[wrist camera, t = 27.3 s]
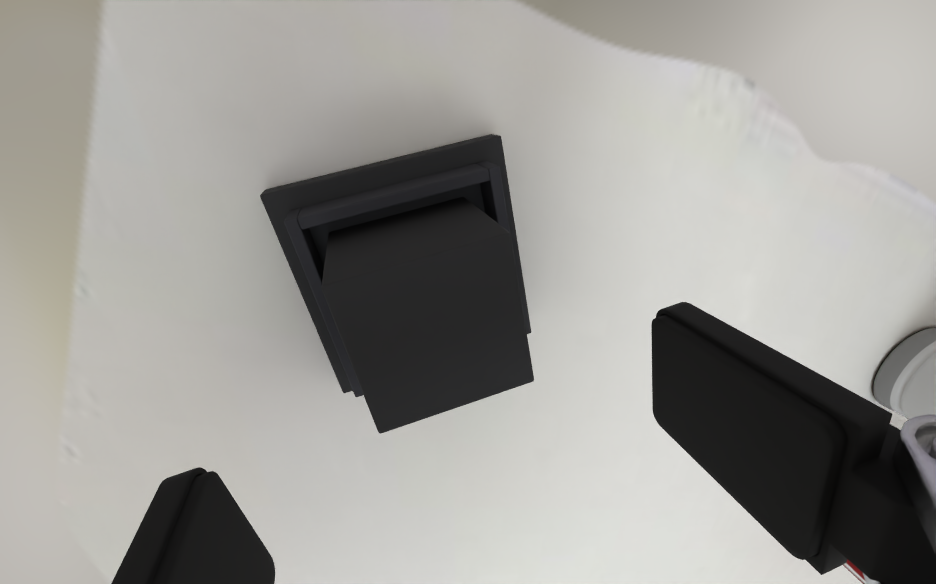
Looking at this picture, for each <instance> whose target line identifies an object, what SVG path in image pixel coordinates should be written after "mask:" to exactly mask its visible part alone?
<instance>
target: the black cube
mask: <svg viewBox="0 0 936 584" xmlns="http://www.w3.org/2000/svg"><path fill="white" fill-rule="evenodd" d="M321 288H322V291H323V293H324V296H325V298H326V301H327V304H328V306H329V309H330V311H331V314H332V316H333V319H334V321H335V324H336V326H337V329H338V331H339V334H340V336H341V339H342V341H343V344H344V346H345V349H346V352H347V354H348V357H349V359H350V362H351V364H352V367H353V369H354V372H355V374H356V377H357V379H358V382H359V384H360V387H361V389H362V392H363V394H364V397H365V399H366V402H367V405H368V407H369V410H370V412H371V415H372V417H373V420H374V422H375V425H376V427H377V430H378V432H379V433H384V432H387V431H390V430H393V429H395V428H398V427H401V426H404V425H407V424H410V423H413V422H416V421H419V420H422V419H425V418H428V417H430V416H433V415H436V414H439V413H442V412H445V411H448V410H451V409H454V408H457V407H460V406H463V405H466V404H468V403H471V402H474V401H477V400H480V399H483V398H486V397H489V396H492V395H495V394H498V393H501V392H503V391H506V390H509V389H512V388H515V387H518V386H521V385H524V384H527V383H530V382H533V381H534V376H533V370H532V364H531V358H530V351H529V345H528V339H527V333H526V326H525V320H524V314H523V308H522V301H521V295H520V289H519V283H518V276H517V270H516V264H515V258H514V251H513V245H512V239H511V234H510V232H508V231H507V230H506V229H504V228H503V227H502V226H501V225H499V224H498V223H497V222H495V221H494V220H493V219H492V218H490V217H489V216H488V215H486V214H485V213H484V212H483V211H481V210H480V209H479V208H477V207H476V206H475V205H474V204H472V203H471V202H470V201H469V200H467V199H466V198H465V197H460V198H456V199H452V200H449V201H445V202H441V203H437V204H433V205H430V206H426V207H422V208H418V209H415V210H411V211H407V212H403V213H400V214H396V215H392V216H388V217H385V218H381V219H377V220H373V221H369V222H366V223H362V224H358V225H354V226H351V227H347V228H343V229H339V230H336V231H332V232H329V234H328V241H327V249H326V256H325V264H324V271H323V279H322V286H321Z"/></svg>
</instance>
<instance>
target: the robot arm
mask: <svg viewBox="0 0 936 584" xmlns="http://www.w3.org/2000/svg"><path fill="white" fill-rule="evenodd" d="M652 392H653V414H654V417H655V419H656V421H657V422H658V424H659V425H660V426H661V427H662V428H663V429H664V430H665V431H666V432H667V433H668V434H669V435H670V436H671V437H672V438H673V439H674V440H675V441H676V442H677V443H678V444H679V445H680V446H681V447H682V448H683V449H684V450H685V451H686V452H687V453H688V454H689V455H690V456H691V457H692V458H693V459H694V460H695V461H696V462H697V463H698V464H699V465H700V466H702V467H703V468H704V469H705V470H706V471H707V472H708V473H709V474H710V475H711V476H712V477H713V478H714V479H715V480H716V481H717V482H718V483H719V484H720V485H721V486H722V487H723V488H724V489H725V490H726V491H727V492H728V493H729V494H730V495H731V496H732V497H733V498H734V499H735V500H736V501H737V502H738V503H739V504H740V505H741V506H742V507H743V508H744V509H745V510H746V511H747V512H748V513H749V514H751V515H752V516H753V517H754V518H755V519H756V520H757V521H758V522H759V523H760V524H761V525H762V526H763V527H764V528H765V529H766V530H767V531H768V532H769V533H770V534H771V535H772V536H773V537H774V538H775V539H776V540H777V541H778V542H779V543H780V544H781V545H782V546H783V547H784V548H785V549H786V550H787V551H788V552H790V553H791V554H792V555H793V556H795V557H796V558H798V559H802V560H804V559H805V560H806V561H808V562H809V563H810V564H811V565H812V566H813V567H814V568H815V569H816V570H817V571H818V572H819V573H820V574H821V575H822V574H825V573H827V572H829V571H831V570H833V569H835V568H837V567H839V566H841V565H843V564H845V563H846V562H847V559H848V560H849V561H850V562H851V563H852V564H853V565H855V566H856V567H857V568H858V569H859V570H860V571H861V572H862V573H863V575H864V578H865V581H866V584H936V415H932V414H928V415H922V416H917V417H913V418H911V419H910V420H908V421H906V422H905V423H904V425H903V427H902V429H901V430H899V429H897V428H896V427H894V426H892V425H890V424H889V423H890V420H891V417H892V413H890V412H888V411H886V410H884V409H882V408H881V407H879V406H877V405H875V404H873V403H871V402H870V401H868V400H866V399H864V398H862V397H860V396H859V395H857V394H855V393H853V392H851V391H849V390H848V389H846V388H844V387H842V386H840V385H838V384H837V383H835V382H833V381H831V380H829V379H827V378H825V377H824V376H822V375H820V374H818V373H816V372H814V371H813V370H811V369H809V368H807V367H805V366H803V365H802V364H800V363H798V362H796V361H794V360H792V359H791V358H789V357H787V356H785V355H783V354H781V353H780V352H778V351H776V350H774V349H772V348H770V347H769V346H767V345H765V344H763V343H761V342H759V341H758V340H756V339H754V338H752V337H750V336H748V335H747V334H745V333H743V332H741V331H739V330H737V329H736V328H734V327H732V326H730V325H728V324H726V323H725V322H723V321H721V320H719V319H717V318H715V317H714V316H712V315H710V314H708V313H706V312H704V311H702V310H701V309H699V308H697V307H695V306H693V305H691V304H690V303H687V302H681V303H678V304H675V305H672V306H669V307H666V308H663V309H661V310H659V311H658V313H657V315H656V318H655V319H653V321H652ZM274 581H275V567H274V562H273V559H272V557H271V555H270V554H269V552H268V551H267V549H266V547H265V546H264V544H263V543H262V541H261V540H260V538H259V537H258V535H257V534H256V532H255V531H254V529H253V527H252V526H251V524H250V523H249V521H248V520H247V518H246V517H245V515H244V514H243V512H242V511H241V509H240V508H239V506H238V504H237V503H236V501H235V500H234V498H233V497H232V495H231V494H230V492H229V491H228V489H227V488H226V486H225V485H224V483H223V481H222V480H221V478H220V477H219V475H218V474H217V473H216V472H214V471H211V472H207V471H206V470H205V469H203V468H195V469H192V470H189V471H186V472H183V473H180V474H178V475H175V476H172V477H169V478H166V479H165V480H163V481H162V483H161V484H160V486H159V488H158V490H157V492H156V494H155V496H154V498H153V500H152V502H151V504H150V506H149V508H148V510H147V512H146V514H145V516H144V518H143V520H142V522H141V524H140V527H139V529H138V531H137V533H136V535H135V537H134V539H133V541H132V543H131V545H130V547H129V549H128V551H127V553H126V555H125V557H124V559H123V561H122V563H121V565H120V567H119V569H118V571H117V574H116V576H115V578H114V580H113V582H112V584H274Z"/></svg>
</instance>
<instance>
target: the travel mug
mask: <svg viewBox="0 0 936 584" xmlns="http://www.w3.org/2000/svg"><path fill="white" fill-rule="evenodd" d="M873 388H874V396H875V398H876V400H877V401H878V402H879V403H880V404H882V405H884V406H885V407H887V408H889V409H891V410H892V411H894V412H896V413H898V414H900V415H902V416H905V417H906V418H907V419H909V420H910V419H911V418H913V417H917V416H922V415H928V414H932V415H936V328H929V329H926V330H922V331H920V332H918V333H916V334H913V335H912V336H910V337H909V338H907V339H906V340H904V341H903V342H902V343H900V344H899V345H898V346H897V347H896V348H895V349H894V350H893V351H892V352H891V353H890V354H889V356H888V357H887V358H886V359H885V361H884V362H883V364H882V365H881V367H880V369H879V371H878V372H877V375H876V378H875V380H874V386H873Z"/></svg>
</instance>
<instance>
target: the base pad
mask: <svg viewBox="0 0 936 584" xmlns="http://www.w3.org/2000/svg"><path fill="white" fill-rule="evenodd" d="M260 197H261V199H262V202H263V204H264V207H265V209H266V211H267V214H268V216H269V218H270V221H271V223H272V225H273V228H274V230H275V233H276V235H277V237H278V240H279V242H280V244H281V247H282V249H283V251H284V254H285V256H286V259H287V261H288V263H289V266H290V268H291V270H292V273H293V275H294V277H295V280H296V282H297V285H298V287H299V289H300V292H301V294H302V296H303V299H304V301H305V303H306V306H307V308H308V311H309V313H310V315H311V318H312V320H313V322H314V325H315V327H316V329H317V332H318V334H319V337H320V339H321V341H322V344H323V346H324V348H325V351H326V353H327V355H328V358H329V360H330V363H331V365H332V367H333V370H334V372H335V374H336V377H337V379H338V381H339V384H340V386H341V389H342V391H343V393H346V392H349V391H353V392H354V394H355V397H358V396H362V395H364V394H363V392H362V389H361V387H360V384H359V382H358V379H357V377H356V374H355V372H354V369H353V367H352V364H351V362H350V359H349V357H348V354H347V352H346V349H345V346H344V344H343V341H342V339H341V336H340V334H339V331H338V329H337V326H336V324H335V321H334V319H333V316H332V314H331V311H330V309H329V306H328V304H327V301H326V298H325V296H324V293H323V291H322V288H321V286H322V279H323V271H324V264H325V256H326V249H327V241H328V234H329V232H332V231H336V230H339V229H343V228H347V227H351V226H354V225H358V224H362V223H366V222H369V221H373V220H377V219H381V218H385V217H388V216H392V215H396V214H400V213H403V212H407V211H411V210H415V209H418V208H422V207H426V206H430V205H433V204H437V203H441V202H445V201H449V200H452V199H456V198H460V197H465V198H466V199H467V200H469V201H470V202H471V203H472V204H474V205H475V206H476V207H477V208H479V209H480V210H481V211H483V212H484V213H485V214H486V215H488V216H489V217H490V218H492V219H493V220H494V221H495V222H497V223H498V224H499V225H501V226H502V227H503V228H504V229H506V230H507V231H508V232H510V234H511V239H512V245H513V251H514V258H515V264H516V270H517V276H518V283H519V289H520V295H521V301H522V308H523V314H524V320H525V326H526V333H527V334H528V333H531V328H530V321H529V315H528V308H527V302H526V295H525V289H524V282H523V276H522V269H521V263H520V256H519V250H518V243H517V237H516V230H515V224H514V217H513V211H512V205H511V198H510V192H509V185H508V179H507V172H506V166H505V159H504V153H503V146H502V140H501V136H498V135H493V134H491V135H487V136H483V137H479V138H474V139H470V140H466V141H462V142H458V143H454V144H450V145H446V146H442V147H438V148H434V149H430V150H426V151H422V152H417V153H413V154H409V155H405V156H401V157H397V158H393V159H389V160H385V161H381V162H377V163H373V164H369V165H364V166H360V167H356V168H352V169H348V170H344V171H340V172H336V173H332V174H328V175H324V176H320V177H316V178H312V179H307V180H303V181H299V182H295V183H291V184H287V185H283V186H279V187H275V188H271V189H267V190H265V191H264V192H263V193H262V194H261V195H260Z"/></svg>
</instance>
